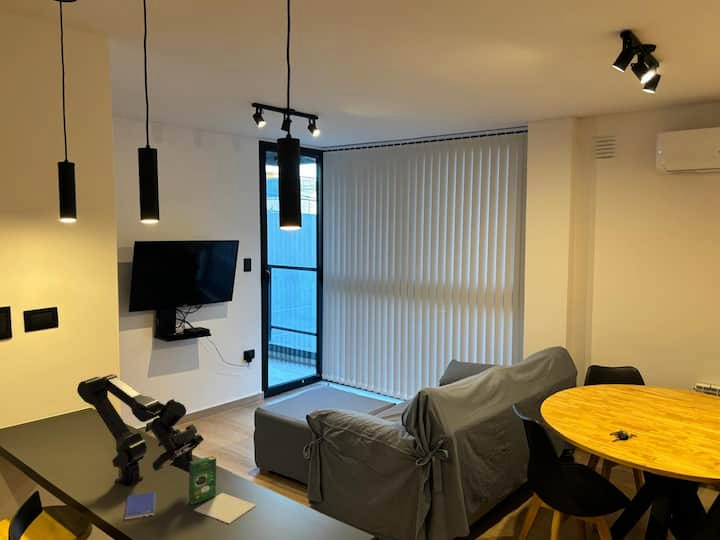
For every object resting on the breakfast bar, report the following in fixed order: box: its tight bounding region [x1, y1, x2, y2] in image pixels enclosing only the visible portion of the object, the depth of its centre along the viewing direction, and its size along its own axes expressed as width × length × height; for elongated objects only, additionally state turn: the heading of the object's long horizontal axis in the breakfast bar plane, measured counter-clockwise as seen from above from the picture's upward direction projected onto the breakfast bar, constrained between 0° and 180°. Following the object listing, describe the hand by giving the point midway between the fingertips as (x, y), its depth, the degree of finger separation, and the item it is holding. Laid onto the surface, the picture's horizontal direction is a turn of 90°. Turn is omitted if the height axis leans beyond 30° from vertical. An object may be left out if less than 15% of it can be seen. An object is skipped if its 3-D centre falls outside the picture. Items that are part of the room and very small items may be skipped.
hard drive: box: [124, 492, 156, 520], centre depth 169 cm, size 2×8×12 cm
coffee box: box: [188, 455, 217, 505], centre depth 173 cm, size 8×3×13 cm, turn 130°
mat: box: [193, 492, 257, 525], centre depth 169 cm, size 14×12×1 cm
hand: (194, 473), depth 174 cm, fingers closed
